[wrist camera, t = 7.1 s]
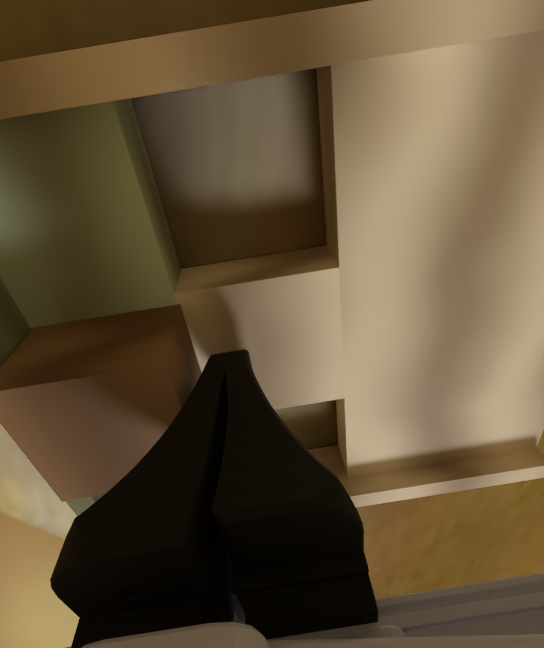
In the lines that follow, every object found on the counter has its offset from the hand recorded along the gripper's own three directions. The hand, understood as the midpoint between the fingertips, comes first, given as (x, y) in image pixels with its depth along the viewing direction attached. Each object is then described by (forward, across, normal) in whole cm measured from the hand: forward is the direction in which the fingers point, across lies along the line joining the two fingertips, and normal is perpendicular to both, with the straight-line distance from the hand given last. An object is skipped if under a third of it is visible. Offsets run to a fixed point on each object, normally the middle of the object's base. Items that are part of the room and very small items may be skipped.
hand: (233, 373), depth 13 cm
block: (+1, +4, 0) cm, 4 cm away
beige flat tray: (+3, -4, 0) cm, 5 cm away
